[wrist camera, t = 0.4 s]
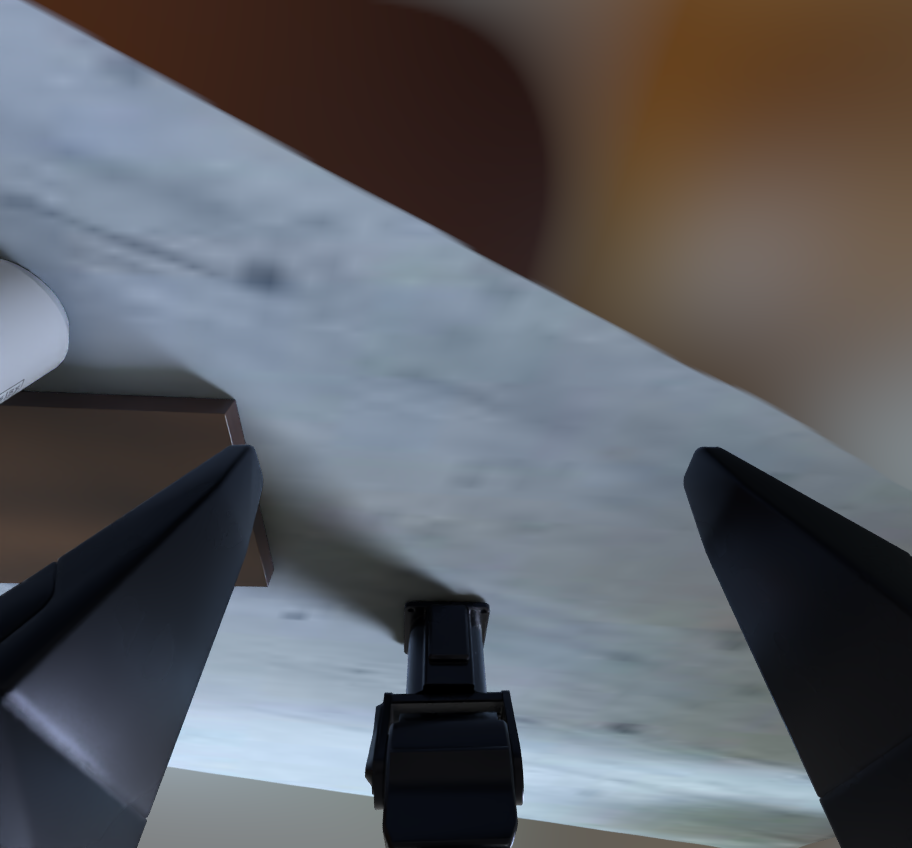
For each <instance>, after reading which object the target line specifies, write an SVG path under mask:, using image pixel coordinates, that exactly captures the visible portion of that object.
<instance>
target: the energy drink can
mask: <svg viewBox="0 0 912 848" xmlns="http://www.w3.org/2000/svg"><path fill="white" fill-rule="evenodd" d="M69 329H70V328H69V321H68V318H67V315H66V312H65V309H64V308H63V306H62V304H61V302H60V301H59V299H58V298H57V297H56V295H55V294H54V293H53V292H52V290H51V289H50V288H49V287H48V286H47V285H46V284H45V283H44V282H43V281H41V280H40V279H39V278H37V277H36V276H35V275H33V274H32V273H31V272H29V271H27V270H26V269H24V268H22V267H21V266H19V265H16V264H14V263H12V262H9V261H7V260H3V259H0V404H1V403H2V402H4V401H5V400H7V399H8V398H10V397H12V396H13V395H15V394H16V393H18V392H19V391H21V390H22V389H24V388H25V387H27V386H28V385H30V384H32V383H33V382H35V381H36V380H38V379H39V378H41V377H42V376H44V375H45V374H47V373H48V372H50V371H51V370H53V369H55V368H56V367H58V366H59V365H60V363H61V362H62V361H63V360H64V358H65V356H66V354H67V352H68V345H69Z"/></svg>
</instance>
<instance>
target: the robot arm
mask: <svg viewBox="0 0 912 848" xmlns="http://www.w3.org/2000/svg"><path fill="white" fill-rule="evenodd" d="M262 488H263V475H262V472H261V468H260V465H259V461H258V458H257V454H256V451H255V449H254V447H253V446H251V445H230V446H228V447H226V448H225V449H223V450H222V451H220V452H219V453H217V454H216V455H214V456H213V457H211V458H210V459H208V460H207V461H205V462H204V463H202V464H201V465H199V466H198V467H196V468H195V469H193V470H192V471H190V472H188V473H187V474H185V475H184V476H182V477H181V478H179V479H178V480H176V481H175V482H173V483H172V484H170V485H169V486H167V487H166V488H164V489H163V490H161V491H160V492H158V493H157V494H155V495H154V496H152V497H151V498H149V499H148V500H146V501H145V502H143V503H141V504H140V505H138V506H137V507H135V508H134V509H132V510H131V511H129V512H128V513H126V514H125V515H123V516H122V517H120V518H119V519H117V520H116V521H114V522H113V523H111V524H110V525H108V526H107V527H105V528H104V529H102V530H101V531H99V532H97V533H96V534H94V535H93V536H91V537H90V538H88V539H87V540H85V541H84V542H82V543H81V544H79V545H78V546H76V547H75V548H73V549H72V550H70V551H69V552H67V553H66V554H64V555H63V556H61V557H60V558H58V561H57V562H52V563H50V564H49V565H47V566H46V567H44V568H43V569H41V570H40V571H38V572H37V573H35V574H34V575H32V576H31V577H29V578H27V579H26V580H24V581H23V582H21V583H20V584H18V585H17V586H15V587H13V588H12V589H10V590H9V591H7V592H6V593H4V594H2V595H1V596H0V848H137V846H138V843H139V841H140V838H141V835H142V833H143V830H144V827H145V825H146V822H147V820H146V817H148V815H149V813H150V810H151V807H152V805H153V802H154V800H155V797H156V794H157V792H158V789H159V786H160V783H161V781H162V778H163V776H164V773H165V770H166V768H167V765H168V762H169V760H170V757H171V754H172V752H173V749H174V746H175V744H176V741H177V738H178V736H179V733H180V730H181V728H182V725H183V722H184V720H185V717H186V714H187V712H188V709H189V706H190V704H191V701H192V698H193V696H194V693H195V690H196V687H197V685H198V682H199V679H200V677H201V674H202V671H203V669H204V666H205V663H206V661H207V658H208V655H209V653H210V650H211V647H212V645H213V642H214V639H215V637H216V634H217V631H218V629H219V626H220V623H221V621H222V618H223V615H224V613H225V610H226V607H227V605H228V602H229V599H230V597H231V594H232V591H233V589H234V586H235V583H236V581H237V578H238V575H239V573H240V570H241V567H242V565H243V562H244V559H245V556H246V553H247V549H248V545H249V541H250V537H251V533H252V529H253V525H254V521H255V517H256V513H257V508H258V504H259V500H260V496H261V492H262ZM684 489H685V492H686V495H687V498H688V501H689V504H690V507H691V510H692V513H693V516H694V519H695V522H696V525H697V528H698V531H699V534H700V537H701V540H702V543H703V546H704V548H705V551H706V553H707V556H708V558H709V560H710V563H711V565H712V567H713V569H714V571H715V574H716V576H717V578H718V580H719V582H720V585H721V587H722V589H723V591H724V593H725V595H726V598H727V600H728V602H729V604H730V606H731V608H732V611H733V613H734V615H735V617H736V619H737V622H738V624H739V626H740V628H741V630H742V632H743V635H744V637H745V639H746V641H747V643H748V645H749V648H750V650H751V652H752V654H753V656H754V659H755V661H756V663H757V665H758V667H759V669H760V672H761V674H762V676H763V678H764V680H765V682H766V685H767V687H768V689H769V691H770V693H771V696H772V698H773V700H774V702H775V704H776V706H777V709H778V711H779V713H780V715H781V717H782V719H783V722H784V724H785V726H786V728H787V730H788V733H789V735H790V737H791V739H792V741H793V743H794V746H795V748H796V750H797V752H798V754H799V756H800V759H801V761H802V763H803V765H804V767H805V770H806V772H807V774H808V776H809V778H810V780H811V783H812V785H813V787H814V789H815V791H816V793H817V795H818V797H820V803H821V805H822V807H823V809H824V812H825V814H826V816H827V818H828V820H829V823H830V825H831V827H832V829H833V831H834V833H835V836H836V838H837V840H838V842H839V844H840V846H841V848H912V556H910V554H909V553H907V552H906V551H904V550H902V549H900V548H898V547H897V546H895V545H893V544H891V543H890V542H888V541H886V540H884V539H882V538H881V537H879V536H877V535H875V534H874V533H872V532H870V531H868V530H866V529H865V528H863V527H861V526H859V525H857V524H856V523H854V522H852V521H850V520H849V519H847V518H845V517H843V516H841V515H840V514H838V513H836V512H834V511H833V510H831V509H829V508H827V507H825V506H824V505H822V504H820V503H818V502H817V501H815V500H813V499H811V498H809V497H808V496H806V495H804V494H802V493H801V492H799V491H797V490H795V489H793V488H792V487H790V486H788V485H786V484H785V483H783V482H781V481H779V480H777V479H776V478H774V477H772V476H770V475H768V474H767V473H765V472H763V471H761V470H760V469H758V468H756V467H754V466H752V465H751V464H749V463H747V462H745V461H744V460H742V459H740V458H738V457H736V456H735V455H733V454H731V453H729V452H728V451H726V450H724V449H722V448H720V447H700V448H698V449H697V450H696V451H695V453H694V455H693V457H692V459H691V462H690V464H689V466H688V469H687V471H686V473H685V476H684ZM489 613H490V608H489V604H487V603H472V602H408V603H406V604H405V621H404V652H405V653H406V654H408V668H407V686H406V694H393V693H385V694H384V701H383V703H382V704H380V705H378V706H376V712H375V722H374V730H373V736H372V741H371V745H370V750H369V754H368V759H367V763H366V769H365V778H366V779H367V780H368V782H369V783H370V784H371V786H372V794H373V795H374V808H375V810H376V809H384V810H383V811H384V812H383V834H384V840H385V847H386V848H512V845H513V841H514V838H515V834H516V831H517V825H518V820H517V809H516V805H522V804H523V795H524V783H523V766H522V757H521V749H520V743H519V738H518V733H517V728H516V723H515V718H514V712H513V707H512V702H511V697H510V692H509V690H506V691H501V692H487V690H486V678H485V667H484V655H483V648H484V642H485V636H486V631H487V625H488V619H489Z"/></svg>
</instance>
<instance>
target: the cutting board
mask: <svg viewBox="0 0 912 848" xmlns="http://www.w3.org/2000/svg"><path fill="white" fill-rule="evenodd" d="M230 445H246V444H245V440H244V436H243V431H242V427H241V423H240V418H239V414H238V409H237V405H236V401H235V399H210V398H184V397H159V396H133V395H108V394H82V393H57V392H31V391H19V392H18V393H16V394H15V395H13V396H12V397H10V398H8V399H7V400H5V401H4V402H2V403H1V404H0V583H21V582H23V581H24V580H26V579H27V578H29V577H31V576H32V575H34V574H35V573H37V572H38V571H40V570H41V569H43V568H44V567H46V566H47V565H49V564H50V563H52V562H57V561H58V558H60V557H61V556H63V555H64V554H66V553H67V552H69V551H70V550H72V549H73V548H75V547H76V546H78V545H79V544H81V543H82V542H84V541H85V540H87V539H88V538H90V537H91V536H93V535H94V534H96V533H97V532H99V531H101V530H102V529H104V528H105V527H107V526H108V525H110V524H111V523H113V522H114V521H116V520H117V519H119V518H120V517H122V516H123V515H125V514H126V513H128V512H129V511H131V510H132V509H134V508H135V507H137V506H138V505H140V504H141V503H143V502H145V501H146V500H148V499H149V498H151V497H152V496H154V495H155V494H157V493H158V492H160V491H161V490H163V489H164V488H166V487H167V486H169V485H170V484H172V483H173V482H175V481H176V480H178V479H179V478H181V477H182V476H184V475H185V474H187V473H188V472H190V471H192V470H193V469H195V468H196V467H198V466H199V465H201V464H202V463H204V462H205V461H207V460H208V459H210V458H211V457H213V456H214V455H216V454H217V453H219V452H220V451H222V450H223V449H225V448H226V447H228V446H230ZM273 571H274V567H273V562H272V558H271V553H270V549H269V545H268V540H267V536H266V532H265V527H264V523H263V519H262V514H261V510H260V505H259V504H258V508H257V513H256V517H255V521H254V525H253V529H252V533H251V537H250V541H249V545H248V549H247V553H246V556H245V559H244V562H243V565H242V567H241V570H240V573H239V575H238V578H237V581H236V583H235V586H253V587H268V585H269V582H270V579H271V576H272V574H273Z"/></svg>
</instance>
